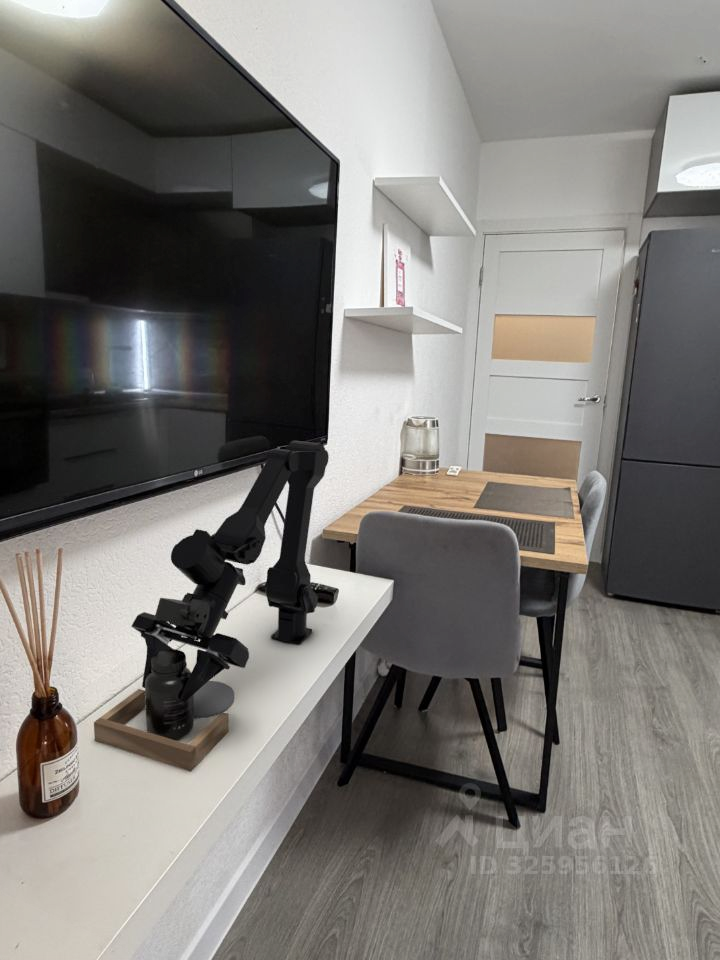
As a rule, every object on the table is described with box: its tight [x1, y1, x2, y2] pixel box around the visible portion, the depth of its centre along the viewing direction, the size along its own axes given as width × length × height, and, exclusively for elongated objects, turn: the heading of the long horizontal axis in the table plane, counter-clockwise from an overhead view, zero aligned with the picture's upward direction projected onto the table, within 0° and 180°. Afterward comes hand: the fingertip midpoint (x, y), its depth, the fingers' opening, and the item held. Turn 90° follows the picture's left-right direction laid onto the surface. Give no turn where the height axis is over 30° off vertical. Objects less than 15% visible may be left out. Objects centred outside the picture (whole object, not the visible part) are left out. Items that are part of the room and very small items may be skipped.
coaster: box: [194, 680, 236, 719], centre depth 97 cm, size 10×10×1 cm
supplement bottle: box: [144, 648, 195, 741], centre depth 88 cm, size 7×7×12 cm
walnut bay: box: [93, 688, 230, 772], centre depth 88 cm, size 10×16×3 cm, turn 70°
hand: (163, 694), depth 87 cm, fingers closed on supplement bottle, 7 cm apart
